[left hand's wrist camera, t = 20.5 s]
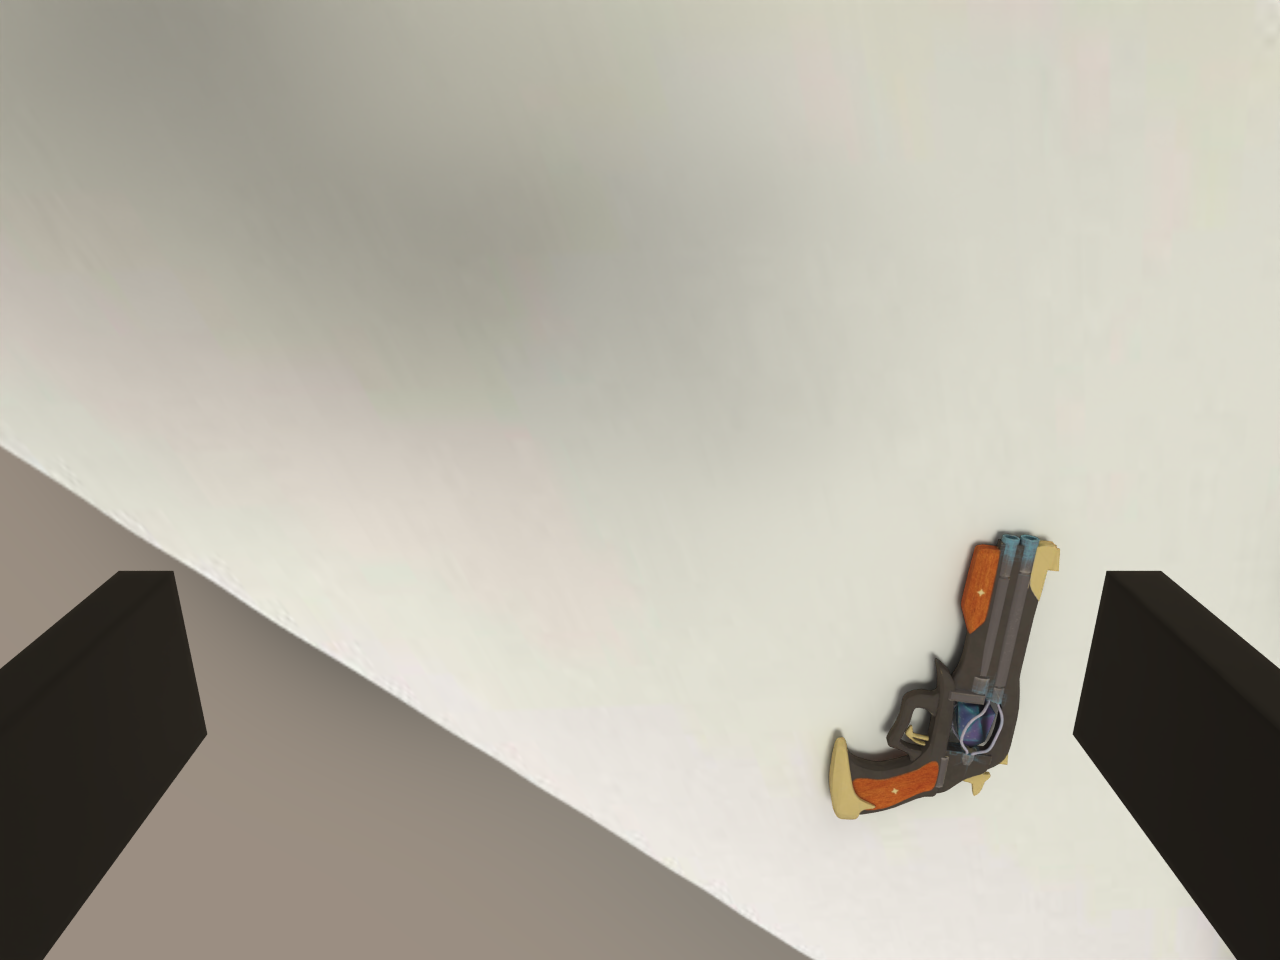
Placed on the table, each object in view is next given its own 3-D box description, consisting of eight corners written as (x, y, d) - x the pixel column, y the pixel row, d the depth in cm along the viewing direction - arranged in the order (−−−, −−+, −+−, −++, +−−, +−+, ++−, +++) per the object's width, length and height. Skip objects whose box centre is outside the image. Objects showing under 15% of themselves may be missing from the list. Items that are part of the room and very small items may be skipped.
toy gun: (825, 827, 53) (997, 852, 52) (878, 527, 47) (1071, 550, 47) (821, 799, 55) (985, 823, 55) (871, 511, 50) (1054, 532, 49)
